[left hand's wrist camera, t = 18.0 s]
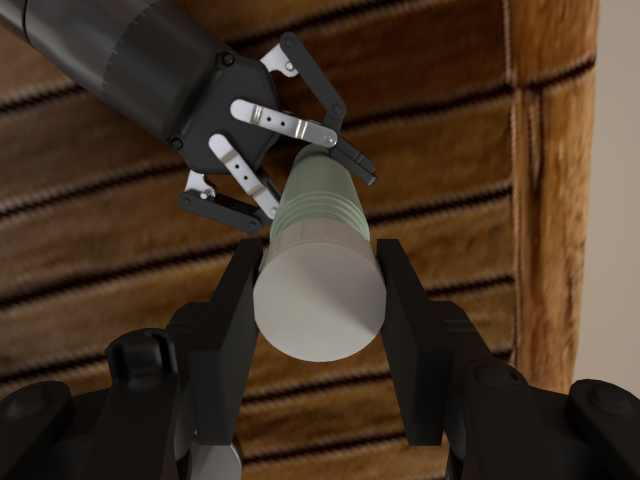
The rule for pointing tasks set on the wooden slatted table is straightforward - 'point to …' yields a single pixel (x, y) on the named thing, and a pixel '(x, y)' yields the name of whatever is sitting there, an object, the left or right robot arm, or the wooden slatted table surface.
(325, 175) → the bottle
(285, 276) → the cap
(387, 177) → the wooden slatted table surface
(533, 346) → the wooden slatted table surface
